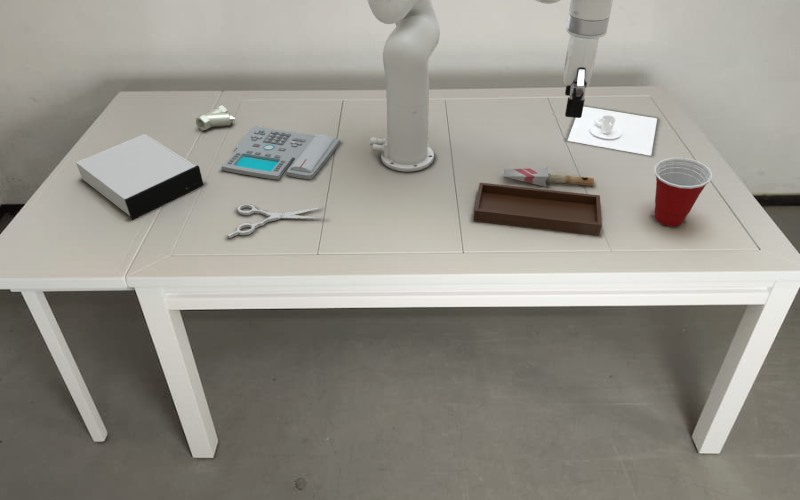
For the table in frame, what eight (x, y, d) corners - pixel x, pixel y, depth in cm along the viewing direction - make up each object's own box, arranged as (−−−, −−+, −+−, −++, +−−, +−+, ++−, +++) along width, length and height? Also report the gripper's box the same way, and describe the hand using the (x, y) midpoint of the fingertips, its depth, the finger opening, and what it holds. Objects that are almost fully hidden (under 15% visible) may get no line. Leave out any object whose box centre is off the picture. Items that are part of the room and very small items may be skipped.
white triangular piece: (592, 121, 166) (595, 107, 164) (623, 126, 164) (627, 112, 161) (586, 137, 160) (590, 122, 157) (619, 142, 158) (623, 128, 155)
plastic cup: (634, 203, 138) (648, 155, 130) (685, 203, 138) (701, 155, 130) (648, 234, 130) (663, 184, 122) (702, 235, 129) (720, 185, 122)
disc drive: (132, 220, 134) (126, 200, 131) (81, 180, 145) (74, 161, 142) (204, 185, 144) (199, 166, 141) (150, 150, 155) (145, 132, 152)
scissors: (230, 205, 136) (324, 196, 138) (231, 208, 137) (324, 199, 139) (227, 235, 128) (327, 226, 130) (228, 238, 129) (327, 229, 131)
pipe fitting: (238, 124, 166) (219, 116, 169) (236, 111, 164) (217, 102, 166) (216, 137, 161) (197, 128, 164) (214, 124, 158) (194, 115, 161)
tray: (473, 221, 133) (474, 210, 131) (478, 192, 141) (479, 182, 139) (599, 235, 129) (602, 225, 127) (597, 206, 137) (600, 195, 135)
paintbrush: (504, 162, 145) (593, 172, 143) (502, 173, 147) (590, 182, 145) (504, 171, 142) (595, 181, 140) (502, 182, 144) (592, 192, 142)
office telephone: (340, 133, 157) (309, 176, 142) (340, 143, 158) (310, 186, 144) (253, 120, 161) (215, 160, 146) (254, 129, 163) (217, 170, 148)
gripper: (567, 7, 129) (554, 86, 140) (567, 39, 116) (553, 124, 127) (605, 9, 128) (590, 89, 138) (610, 42, 114) (592, 127, 125)
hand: (572, 105), depth 132 cm, fingers open, 9 cm apart
